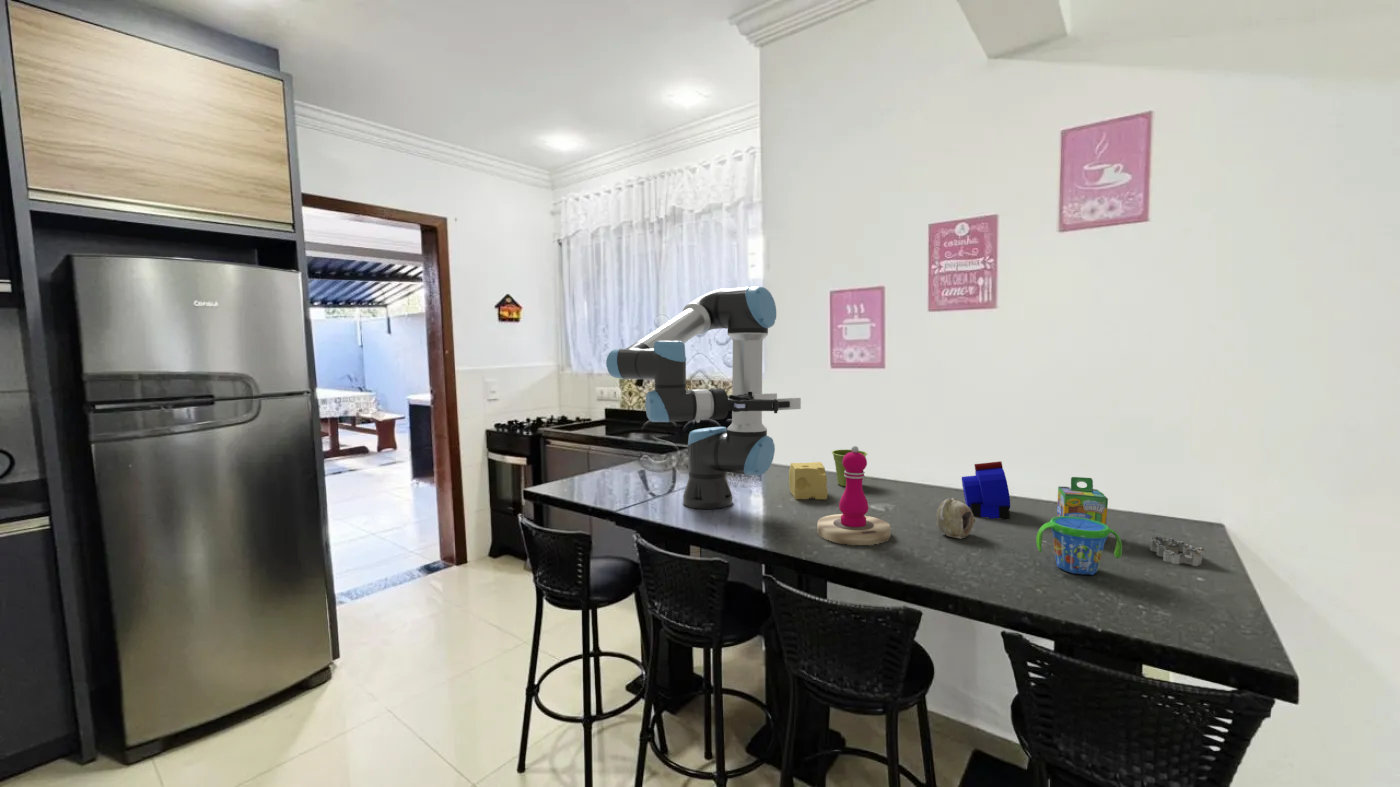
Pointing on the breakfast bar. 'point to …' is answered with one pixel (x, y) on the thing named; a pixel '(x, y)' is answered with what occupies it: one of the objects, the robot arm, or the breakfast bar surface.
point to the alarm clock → (987, 491)
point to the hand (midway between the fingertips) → (787, 400)
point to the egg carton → (1176, 551)
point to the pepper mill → (854, 490)
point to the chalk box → (1082, 501)
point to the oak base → (853, 531)
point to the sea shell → (955, 518)
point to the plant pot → (839, 465)
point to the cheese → (808, 480)
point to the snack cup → (1078, 543)
